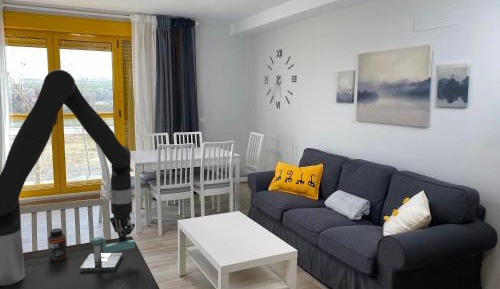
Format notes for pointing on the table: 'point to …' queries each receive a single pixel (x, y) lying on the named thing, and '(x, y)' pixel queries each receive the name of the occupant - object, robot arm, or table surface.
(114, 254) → the plate
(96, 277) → the table surface
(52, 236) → the supplement bottle
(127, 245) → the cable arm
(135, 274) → the table surface
